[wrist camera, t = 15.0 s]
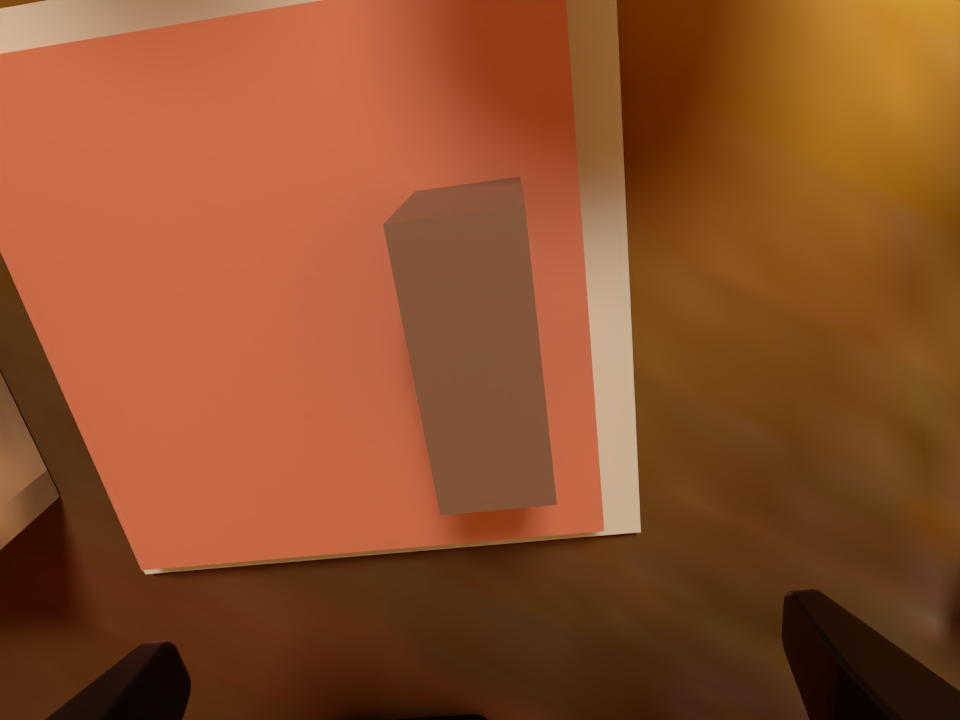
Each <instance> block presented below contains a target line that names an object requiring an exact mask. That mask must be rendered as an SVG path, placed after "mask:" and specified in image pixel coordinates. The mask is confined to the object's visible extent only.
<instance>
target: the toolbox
mask: <svg viewBox="0 0 960 720" xmlns="http://www.w3.org/2000/svg"><path fill="white" fill-rule="evenodd" d="M59 497H60V496H59V493H58V491H57V489H56V487H55V485H54V483H53V481H52V479H51V477H50V475H49V473H48V471H47V468H46V466H45V464H44V462H43V460H42V458H41V456H40V454H39V452H38V450H37V448H36V446H35V443H34V441H33V439H32V437H31V435H30V433H29V431H28V429H27V427H26V425H25V423H24V421H23V418H22V416H21V414H20V412H19V410H18V408H17V406H16V404H15V402H14V400H13V398H12V395H11V393H10V391H9V389H8V387H7V385H6V383H5V381H4V379H3V377H2V375H1V373H0V550H1V549H2V548H3V547H4V546H5V545H6V544H8V543H9V542H10V541H11V540H12V539H13V538H14V537H15V536H16V535H18V534H19V533H20V532H21V531H22V530H23V529H24V528H25V527H27V526H28V525H29V524H30V523H31V522H32V521H33V520H34V519H35V518H37V517H38V516H39V515H40V514H41V513H42V512H43V511H44V510H46V509H47V508H48V507H49V506H50V505H51V504H52V503H53V502H54V501H56V500H57V499H58V498H59Z"/></svg>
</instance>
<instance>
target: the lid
mask: <svg viewBox="0 0 960 720" xmlns="http://www.w3.org/2000/svg"><path fill="white" fill-rule="evenodd" d="M0 252H1V254H2V256H3V258H4V261H5V263H6V265H7V267H8V270H9V272H10V274H11V276H12V279H13V281H14V283H15V285H16V288H17V290H18V292H19V294H20V297H21V299H22V301H23V303H24V306H25V308H26V310H27V313H28V315H29V317H30V319H31V322H32V324H33V326H34V328H35V331H36V333H37V335H38V337H39V340H40V342H41V344H42V346H43V349H44V351H45V353H46V355H47V358H48V360H49V362H50V365H51V367H52V369H53V371H54V374H55V376H56V378H57V380H58V383H59V385H60V387H61V389H62V392H63V394H64V396H65V398H66V401H67V403H68V405H69V407H70V410H71V412H72V414H73V417H74V419H75V421H76V423H77V426H78V428H79V430H80V432H81V435H82V437H83V439H84V441H85V444H86V446H87V448H88V450H89V453H90V455H91V457H92V459H93V462H94V464H95V466H96V469H97V471H98V473H99V475H100V478H101V480H102V482H103V484H104V487H105V489H106V491H107V493H108V496H109V498H110V500H111V502H112V505H113V507H114V509H115V511H116V514H117V516H118V518H119V521H120V523H121V525H122V527H123V530H124V532H125V534H126V536H127V539H128V541H129V543H130V545H131V548H132V550H133V552H134V554H135V557H136V559H137V561H138V563H139V566H140V568H141V570H152V569H164V568H176V567H188V566H200V565H211V564H223V563H235V562H247V561H259V560H270V559H282V558H294V557H306V556H318V555H329V554H341V553H353V552H365V551H377V550H388V549H400V548H412V547H424V546H436V545H447V544H459V543H471V542H483V541H495V540H506V539H518V538H530V537H542V536H554V535H565V534H577V533H589V532H601V531H604V520H603V506H602V492H601V478H600V465H599V451H598V437H597V423H596V409H595V396H594V382H593V368H592V354H591V340H590V326H589V313H588V299H587V285H586V271H585V257H584V244H583V230H582V216H581V202H580V188H579V174H578V161H577V147H576V133H575V119H574V105H573V91H572V78H571V64H570V50H569V36H568V22H567V9H566V0H320V1H314V2H308V3H302V4H296V5H290V6H284V7H278V8H272V9H266V10H260V11H254V12H248V13H242V14H236V15H230V16H224V17H218V18H212V19H206V20H200V21H194V22H188V23H182V24H176V25H170V26H164V27H158V28H152V29H146V30H140V31H134V32H128V33H122V34H116V35H110V36H104V37H98V38H93V39H87V40H81V41H75V42H69V43H63V44H57V45H51V46H45V47H39V48H33V49H27V50H21V51H15V52H9V53H3V54H0Z"/></svg>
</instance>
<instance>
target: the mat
mask: <svg viewBox="0 0 960 720" xmlns="http://www.w3.org/2000/svg"><path fill="white" fill-rule="evenodd" d="M314 1H320V0H47V1H41V2H35V3H30V4H24V5H18V6H12V7H7V8H1V9H0V54H3V53H9V52H15V51H21V50H27V49H33V48H39V47H45V46H51V45H57V44H63V43H69V42H75V41H81V40H87V39H93V38H98V37H104V36H110V35H116V34H122V33H128V32H134V31H140V30H146V29H152V28H158V27H164V26H170V25H176V24H182V23H188V22H194V21H200V20H206V19H212V18H218V17H224V16H230V15H236V14H242V13H248V12H254V11H260V10H266V9H272V8H278V7H284V6H290V5H296V4H302V3H308V2H314ZM566 9H567V22H568V36H569V50H570V64H571V78H572V91H573V105H574V119H575V133H576V147H577V161H578V174H579V188H580V202H581V216H582V230H583V244H584V257H585V271H586V285H587V299H588V313H589V326H590V340H591V354H592V368H593V382H594V396H595V409H596V423H597V437H598V451H599V465H600V478H601V492H602V506H603V520H604V531H601V532H589V533H577V534H565V535H554V536H542V537H530V538H518V539H506V540H495V541H483V542H471V543H459V544H447V545H436V546H424V547H412V548H400V549H388V550H377V551H365V552H353V553H341V554H329V555H318V556H306V557H294V558H282V559H270V560H259V561H247V562H235V563H223V564H211V565H200V566H188V567H176V568H164V569H152V570H144V573H145V574H154V573H166V572H177V571H189V570H201V569H213V568H225V567H236V566H248V565H260V564H272V563H284V562H295V561H307V560H319V559H331V558H343V557H354V556H366V555H378V554H390V553H402V552H413V551H425V550H437V549H449V548H461V547H472V546H484V545H496V544H508V543H520V542H531V541H543V540H555V539H567V538H579V537H590V536H602V535H614V534H626V533H638V532H641V527H640V505H639V483H638V461H637V439H636V416H635V394H634V372H633V350H632V328H631V306H630V284H629V262H628V240H627V218H626V195H625V173H624V151H623V129H622V107H621V85H620V63H619V41H618V19H617V0H566Z"/></svg>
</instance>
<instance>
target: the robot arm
mask: <svg viewBox="0 0 960 720" xmlns="http://www.w3.org/2000/svg"><path fill="white" fill-rule="evenodd" d="M782 642H783V647H784V651H785V654H786V657H787V659H788V662H789V665H790V668H791V670H792V673H793V676H794V678H795V681H796V684H797V686H798V689H799V692H800V695H801V697H802V700H803V703H804V705H805V708H806V711H807V714H808V716H809V719H810V720H960V691H959V690H958V689H957V688H955V687H954V686H952V685H951V684H949V683H948V682H947V681H945V680H944V679H943V678H941V677H940V676H938V675H937V674H936V673H934V672H933V671H931V670H930V669H929V668H927V667H926V666H924V665H923V664H922V663H920V662H919V661H917V660H916V659H915V658H913V657H912V656H910V655H909V654H908V653H906V652H905V651H903V650H902V649H901V648H899V647H898V646H896V645H895V644H894V643H892V642H891V641H889V640H888V639H887V638H885V637H884V636H882V635H881V634H880V633H878V632H877V631H875V630H874V629H873V628H871V627H870V626H868V625H867V624H866V623H864V622H863V621H861V620H860V619H858V618H857V617H856V616H854V615H853V614H851V613H850V612H849V611H847V610H846V609H844V608H843V607H842V606H840V605H839V604H837V603H836V602H835V601H833V600H832V599H830V598H829V597H828V596H826V595H825V594H823V593H822V592H820V591H818V590H814V589H810V590H797V591H789V592H787V593H786V595H785V597H784V606H783V623H782ZM190 690H191V681H190V677H189V674H188V672H187V670H186V667H185V665H184V663H183V660H182V658H181V656H180V654H179V651H178V649H177V647H176V645H175V644H174V643H173V642H171V641H168V640H164V641H152V642H146V643H143V644H141V645H140V646H138V647H137V648H136V649H134V650H133V651H132V652H131V653H129V654H128V655H127V656H125V657H124V658H123V659H122V660H120V661H119V662H118V663H116V664H115V665H114V666H113V667H111V668H110V669H109V670H108V671H106V672H105V673H104V674H102V675H101V676H100V677H99V678H97V679H96V680H95V681H93V682H92V683H91V684H90V685H88V686H87V687H86V688H85V689H83V690H82V691H81V692H79V693H78V694H77V695H76V696H74V697H73V698H72V699H70V700H69V701H68V702H67V703H65V704H64V705H63V706H62V707H60V708H59V709H58V710H56V711H55V712H54V713H53V714H51V715H50V716H49V717H47V718H46V719H45V720H182V719H183V716H184V712H185V709H186V706H187V703H188V700H189V696H190ZM398 720H487V719H485V718H484V717H482V716H479V715H465V716H448V717H432V718H415V719H398Z"/></svg>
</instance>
